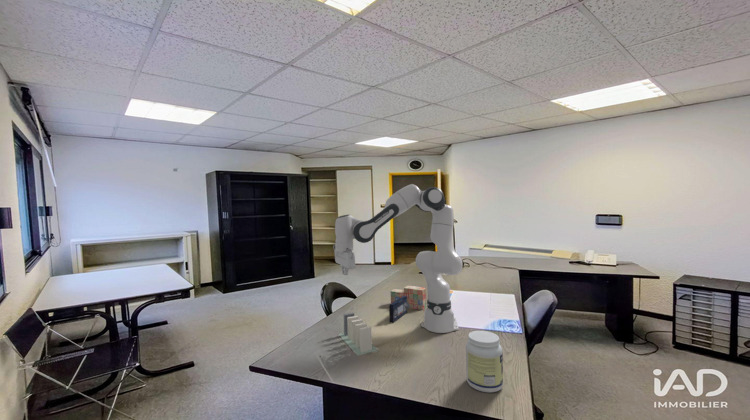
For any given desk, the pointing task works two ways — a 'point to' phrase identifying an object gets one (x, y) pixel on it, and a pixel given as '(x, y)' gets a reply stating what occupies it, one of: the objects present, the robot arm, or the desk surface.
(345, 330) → the domino
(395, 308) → the vhs cassette tape
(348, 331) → the domino
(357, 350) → the mat
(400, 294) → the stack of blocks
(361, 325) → the domino
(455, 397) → the desk surface
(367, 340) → the domino
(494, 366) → the supplement tub
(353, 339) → the domino
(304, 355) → the desk surface
